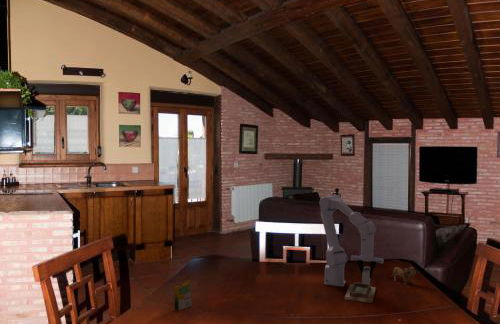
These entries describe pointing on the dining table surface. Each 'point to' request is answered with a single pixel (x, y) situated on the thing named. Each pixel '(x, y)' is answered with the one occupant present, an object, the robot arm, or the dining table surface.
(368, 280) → the grey pillar with nub
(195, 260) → the dining table surface
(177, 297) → the crayon box
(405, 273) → the lion figurine
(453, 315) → the dining table surface
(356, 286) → the cradle jig
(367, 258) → the robot arm
